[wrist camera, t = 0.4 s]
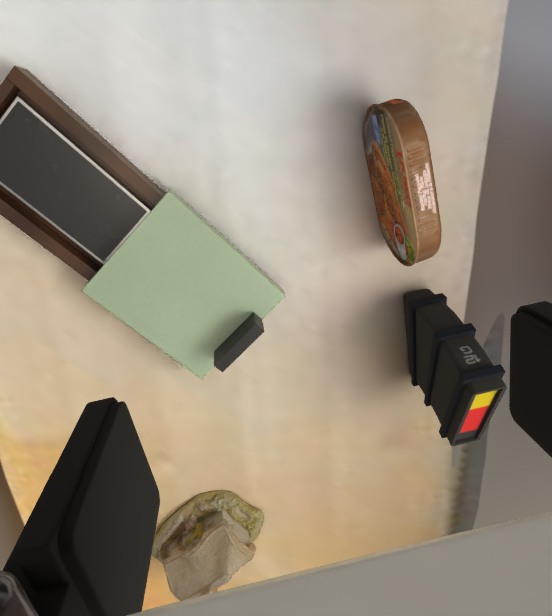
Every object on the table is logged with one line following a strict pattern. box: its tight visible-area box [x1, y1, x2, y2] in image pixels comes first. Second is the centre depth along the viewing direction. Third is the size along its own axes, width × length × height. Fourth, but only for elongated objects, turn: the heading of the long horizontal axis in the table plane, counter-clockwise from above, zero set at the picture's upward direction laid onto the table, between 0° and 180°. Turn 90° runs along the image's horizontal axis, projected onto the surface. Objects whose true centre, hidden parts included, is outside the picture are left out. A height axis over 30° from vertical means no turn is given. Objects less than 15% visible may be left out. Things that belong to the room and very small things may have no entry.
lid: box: [82, 189, 285, 379], centre depth 43 cm, size 15×13×5 cm
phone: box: [0, 96, 152, 265], centre depth 41 cm, size 14×7×1 cm, turn 46°
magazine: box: [404, 289, 507, 446], centre depth 47 cm, size 4×13×15 cm, turn 11°
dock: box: [0, 66, 166, 281], centre depth 43 cm, size 30×11×2 cm, turn 46°
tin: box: [363, 99, 441, 266], centre depth 41 cm, size 15×3×8 cm, turn 16°
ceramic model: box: [152, 491, 264, 601], centre depth 55 cm, size 14×11×10 cm
